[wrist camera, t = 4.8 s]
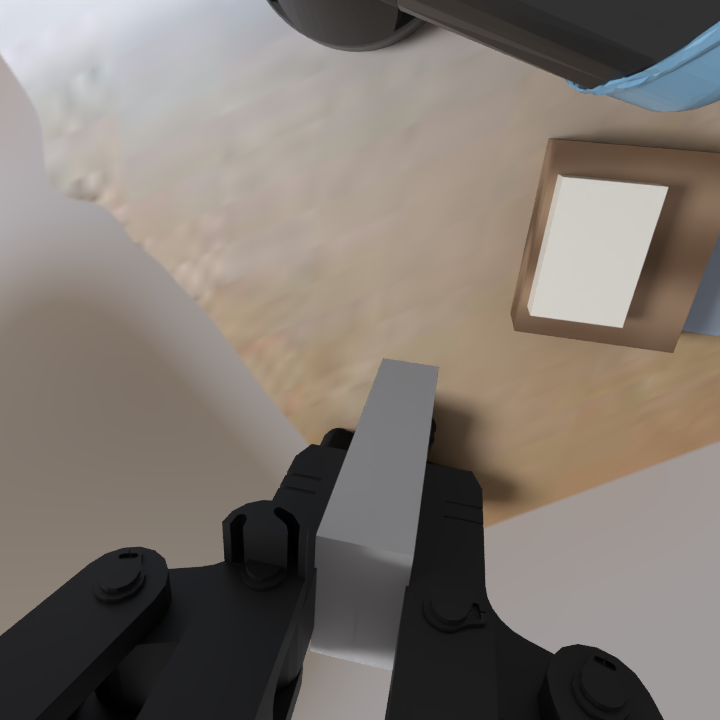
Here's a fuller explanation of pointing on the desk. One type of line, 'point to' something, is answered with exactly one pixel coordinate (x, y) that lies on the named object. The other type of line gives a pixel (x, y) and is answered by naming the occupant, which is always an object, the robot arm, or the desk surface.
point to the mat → (707, 299)
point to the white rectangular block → (594, 248)
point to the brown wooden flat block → (666, 250)
